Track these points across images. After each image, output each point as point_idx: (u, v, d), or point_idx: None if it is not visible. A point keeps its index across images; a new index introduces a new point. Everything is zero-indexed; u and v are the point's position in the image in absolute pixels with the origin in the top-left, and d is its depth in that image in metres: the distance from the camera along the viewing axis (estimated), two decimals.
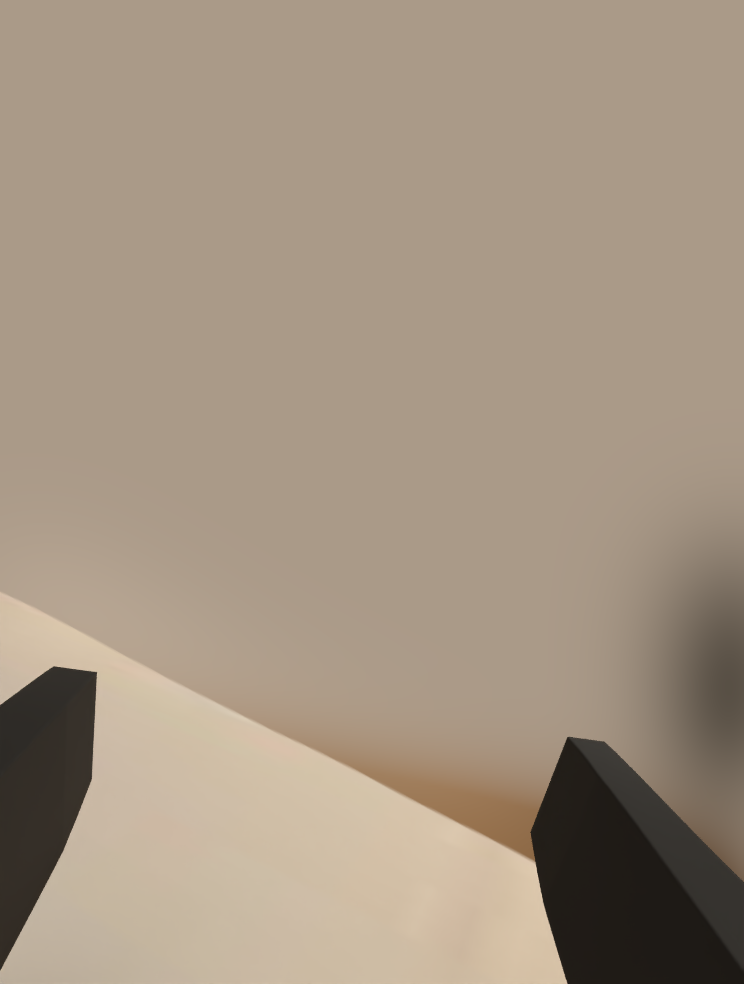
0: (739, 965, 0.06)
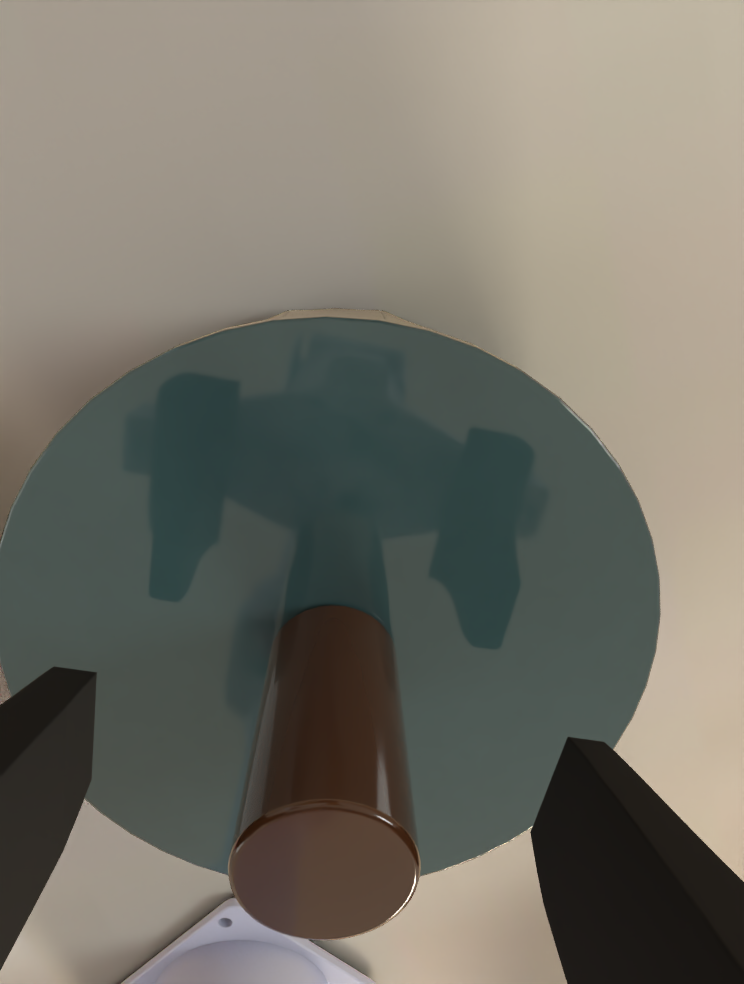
0: (739, 965, 0.06)
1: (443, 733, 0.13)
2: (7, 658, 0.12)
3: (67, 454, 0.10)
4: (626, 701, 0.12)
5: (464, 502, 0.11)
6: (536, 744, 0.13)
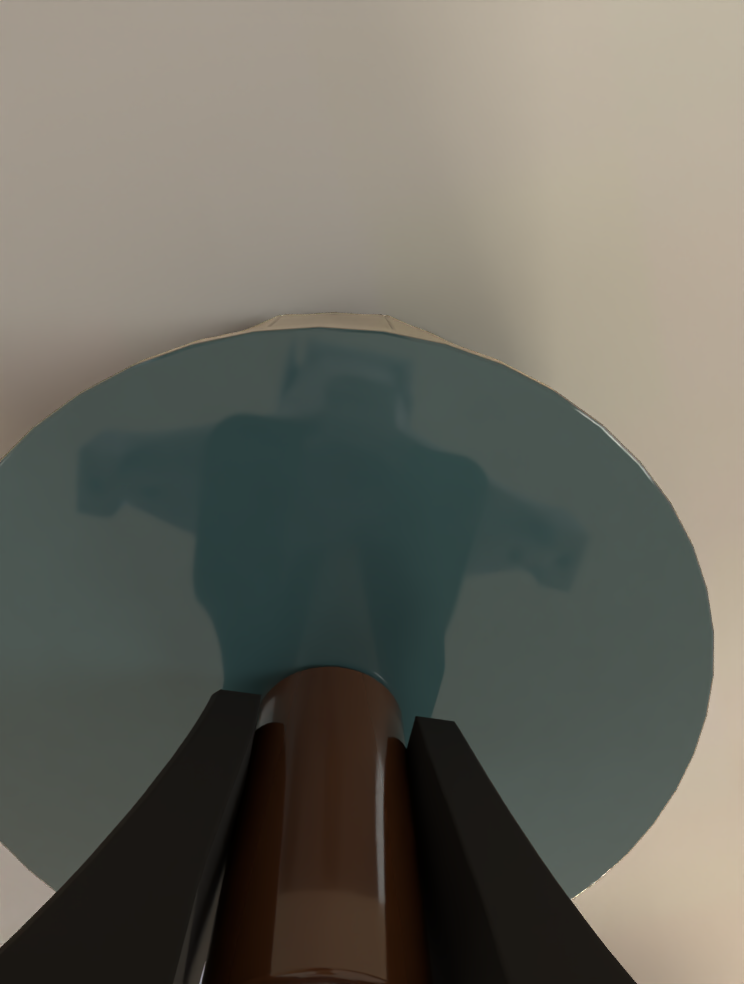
0: (496, 940, 0.06)
1: None
2: None
3: (8, 492, 0.08)
4: (670, 772, 0.11)
5: (485, 547, 0.09)
6: (565, 819, 0.11)
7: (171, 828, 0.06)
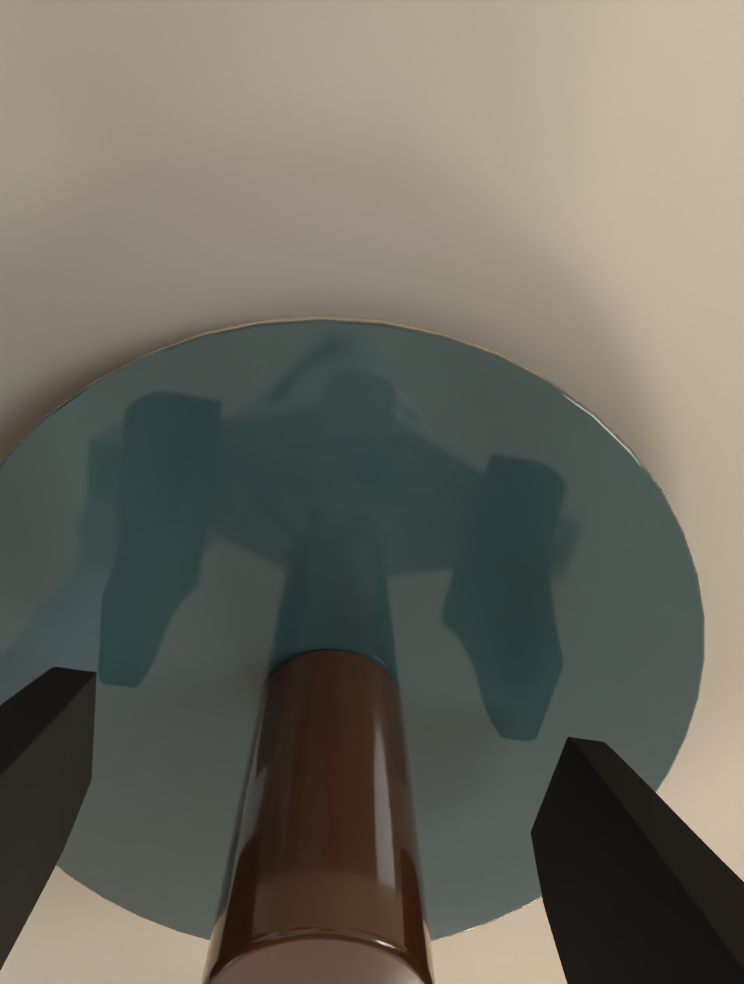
0: (739, 965, 0.06)
1: (455, 790, 0.11)
2: None
3: (20, 479, 0.09)
4: (663, 755, 0.11)
5: (482, 534, 0.09)
6: None
7: None
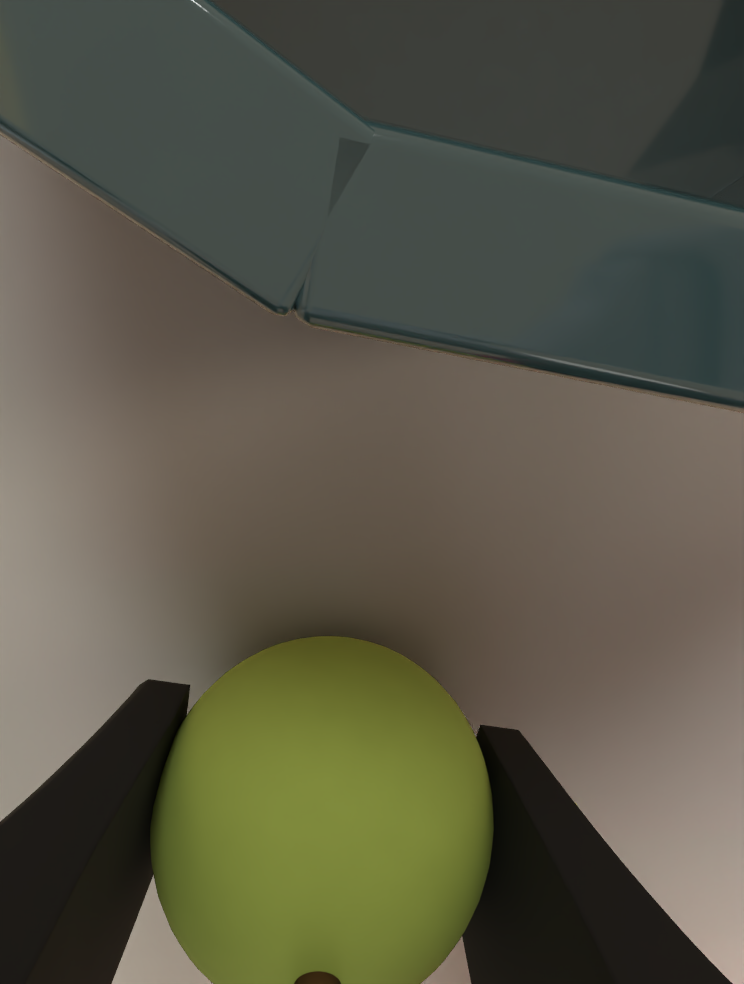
0: (600, 952, 0.06)
1: None
2: None
3: None
4: None
5: None
6: None
7: (65, 816, 0.06)
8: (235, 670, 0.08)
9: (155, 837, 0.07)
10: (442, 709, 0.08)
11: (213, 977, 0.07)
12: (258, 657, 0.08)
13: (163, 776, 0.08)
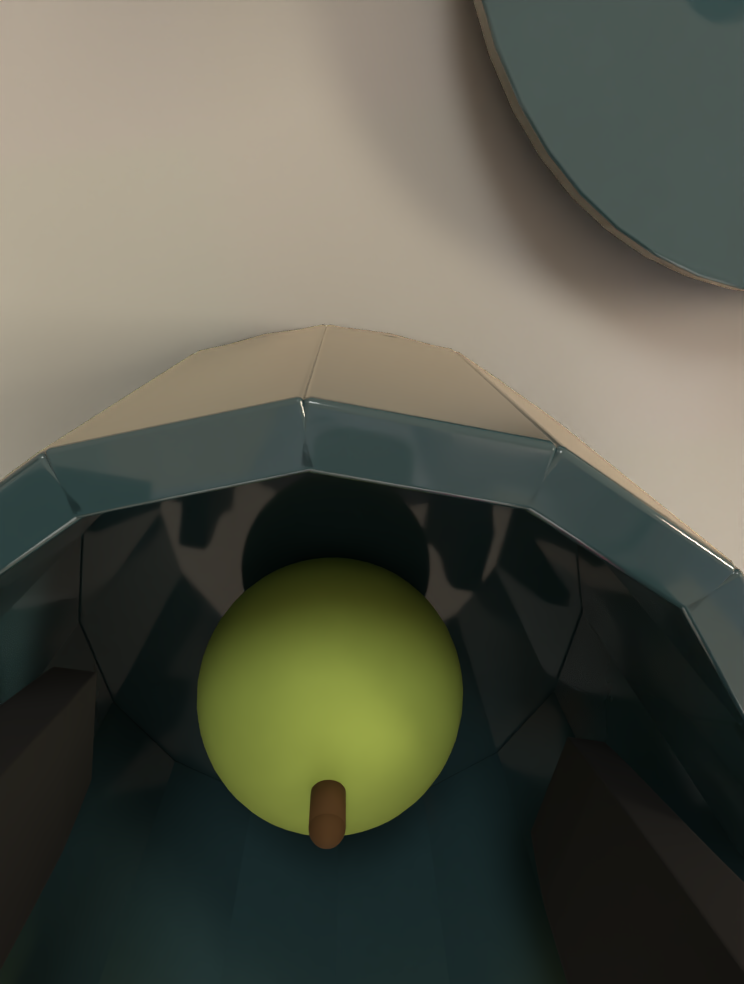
0: (739, 965, 0.06)
1: None
2: (741, 277, 0.10)
3: (544, 99, 0.09)
4: None
5: None
6: None
7: None
8: (261, 580, 0.11)
9: (203, 698, 0.10)
10: (422, 606, 0.10)
11: (249, 795, 0.09)
12: (278, 570, 0.11)
13: (207, 656, 0.10)
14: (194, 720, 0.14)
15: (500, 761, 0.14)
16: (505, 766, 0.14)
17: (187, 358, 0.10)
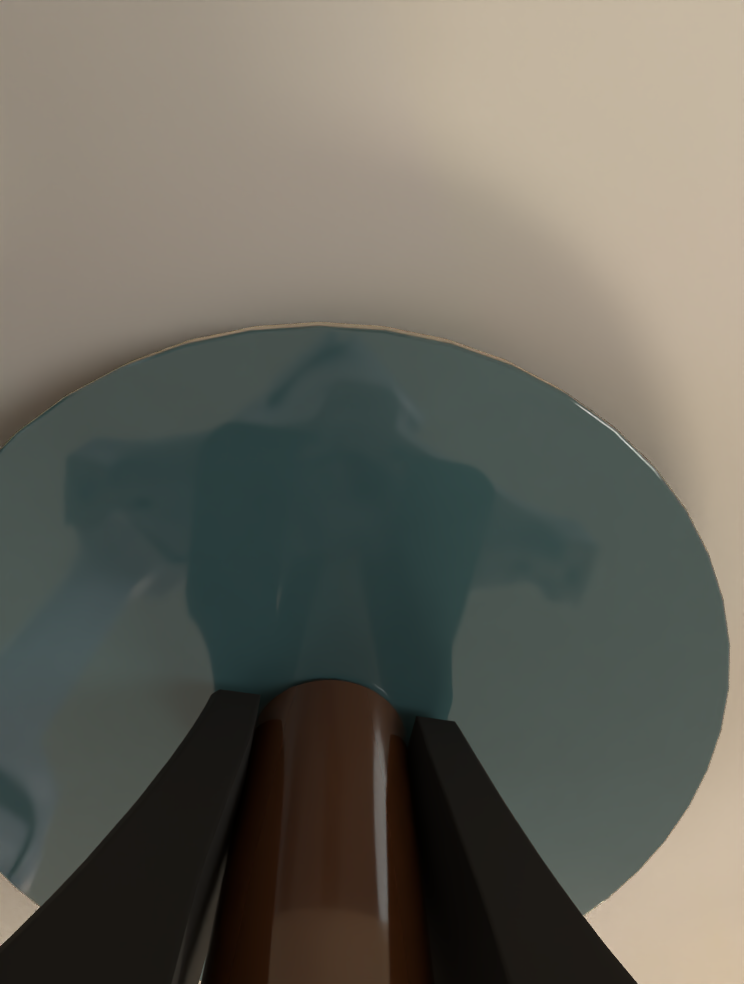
0: (497, 940, 0.06)
1: None
2: None
3: None
4: (683, 787, 0.10)
5: (492, 556, 0.09)
6: (573, 836, 0.11)
7: (170, 827, 0.06)
8: None
9: None
10: None
11: None
12: None
13: None
14: None
15: None
16: None
17: None
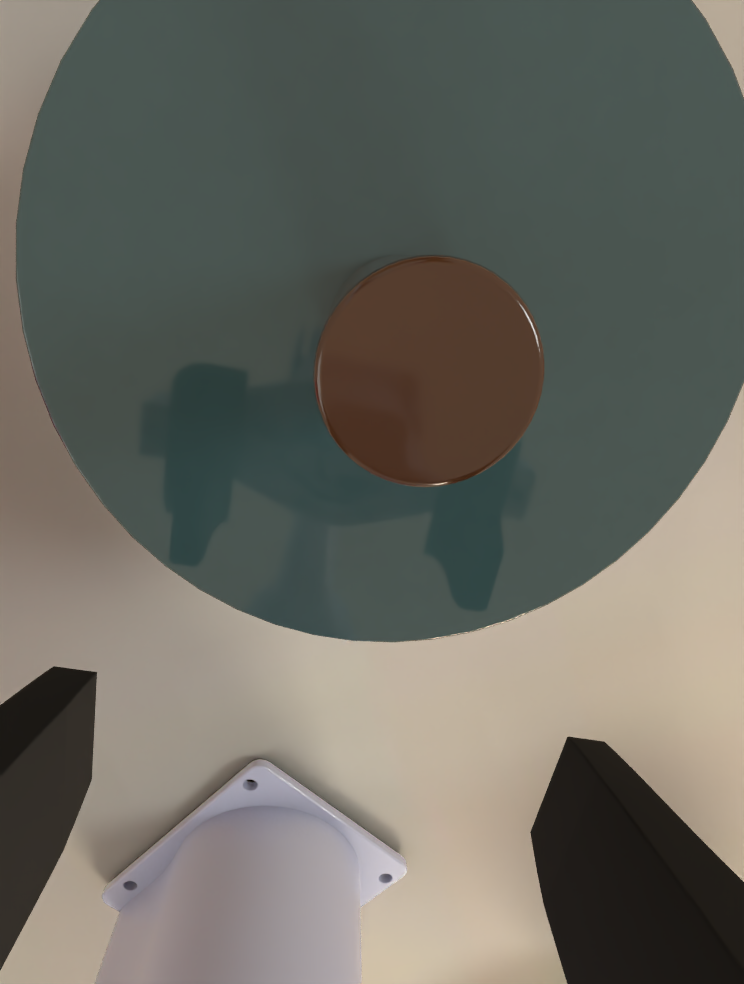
0: (739, 965, 0.06)
1: None
2: (31, 324, 0.10)
3: (104, 39, 0.09)
4: (722, 398, 0.11)
5: (554, 117, 0.09)
6: (619, 454, 0.11)
7: None
8: None
9: None
10: None
11: None
12: None
13: None
14: None
15: None
16: None
17: None
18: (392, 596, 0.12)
